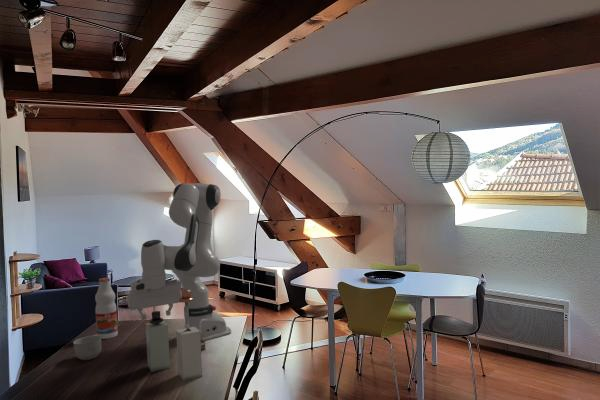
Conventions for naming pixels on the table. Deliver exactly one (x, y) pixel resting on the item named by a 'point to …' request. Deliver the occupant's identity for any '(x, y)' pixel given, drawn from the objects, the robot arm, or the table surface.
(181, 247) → the robot arm
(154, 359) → the block
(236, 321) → the table surface
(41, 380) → the table surface
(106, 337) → the fruit juice
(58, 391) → the table surface
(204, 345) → the architectural model
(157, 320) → the black plunger
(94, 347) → the teacup
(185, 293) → the terracotta plunger
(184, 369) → the block
